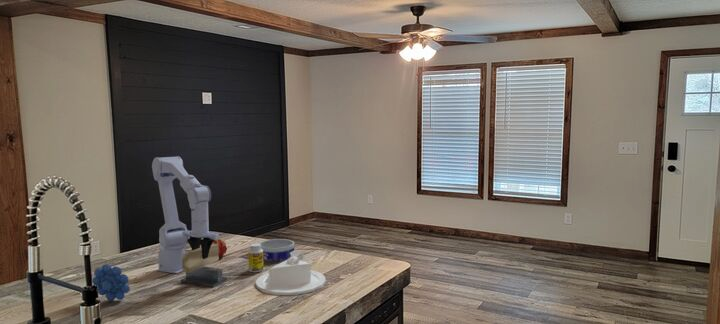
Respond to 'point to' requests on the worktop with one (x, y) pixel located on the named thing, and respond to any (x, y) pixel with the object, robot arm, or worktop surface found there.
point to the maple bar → (199, 258)
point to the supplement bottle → (255, 258)
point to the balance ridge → (205, 277)
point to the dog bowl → (277, 249)
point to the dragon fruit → (221, 247)
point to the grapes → (111, 282)
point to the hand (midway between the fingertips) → (201, 257)
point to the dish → (291, 277)
